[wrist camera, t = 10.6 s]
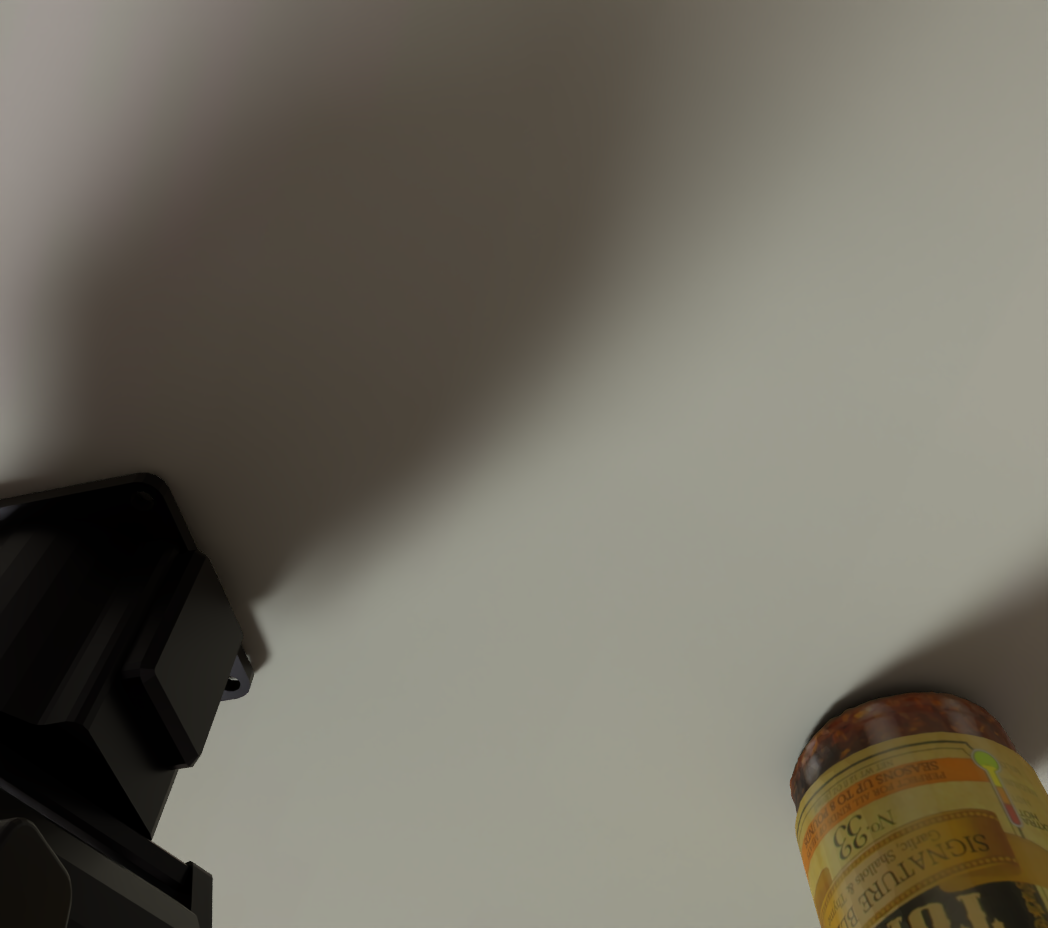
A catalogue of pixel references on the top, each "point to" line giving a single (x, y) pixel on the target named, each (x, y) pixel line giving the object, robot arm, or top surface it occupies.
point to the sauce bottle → (921, 819)
